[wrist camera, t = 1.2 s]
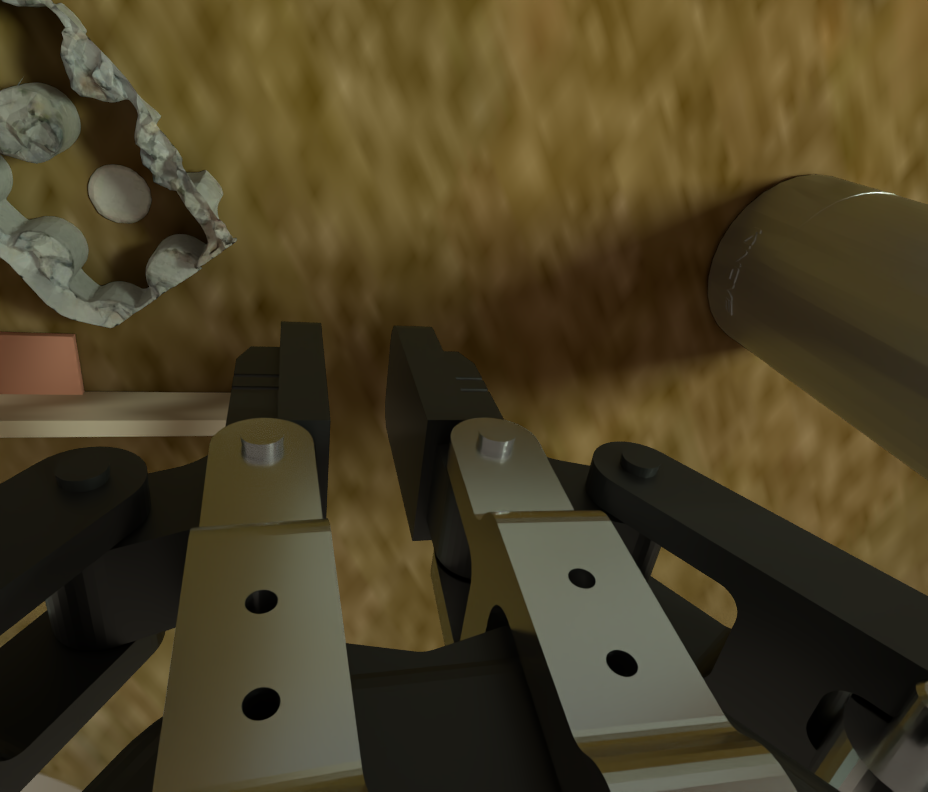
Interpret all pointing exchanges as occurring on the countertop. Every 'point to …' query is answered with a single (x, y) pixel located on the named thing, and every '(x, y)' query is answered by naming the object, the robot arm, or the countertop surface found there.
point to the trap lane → (89, 397)
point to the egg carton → (96, 189)
